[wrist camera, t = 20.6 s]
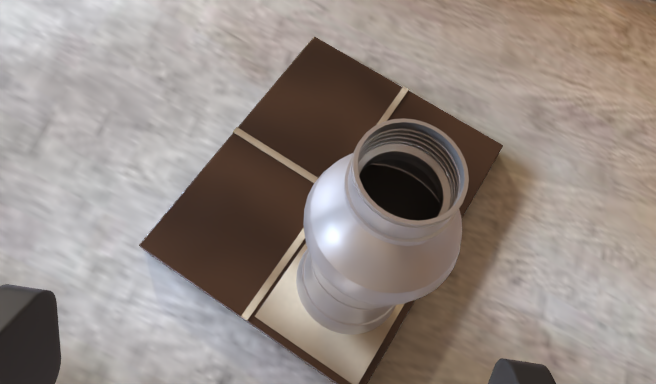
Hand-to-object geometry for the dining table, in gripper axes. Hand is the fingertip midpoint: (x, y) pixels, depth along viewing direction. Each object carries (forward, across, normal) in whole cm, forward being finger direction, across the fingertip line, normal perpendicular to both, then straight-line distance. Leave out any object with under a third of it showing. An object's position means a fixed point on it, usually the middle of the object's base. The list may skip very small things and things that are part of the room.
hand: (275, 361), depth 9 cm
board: (+27, +1, -9) cm, 29 cm away
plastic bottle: (+22, +3, -13) cm, 25 cm away
